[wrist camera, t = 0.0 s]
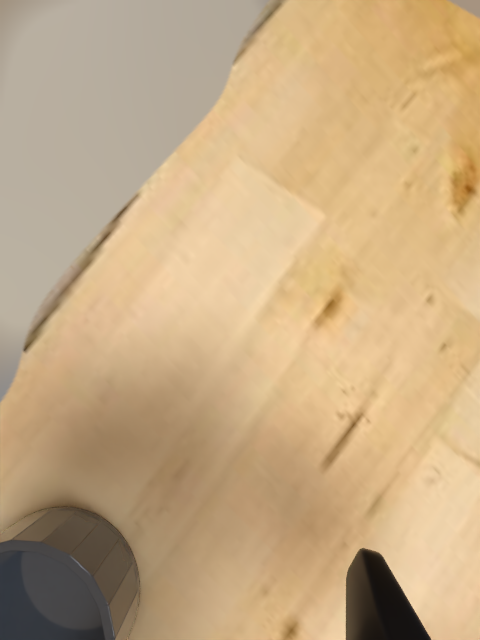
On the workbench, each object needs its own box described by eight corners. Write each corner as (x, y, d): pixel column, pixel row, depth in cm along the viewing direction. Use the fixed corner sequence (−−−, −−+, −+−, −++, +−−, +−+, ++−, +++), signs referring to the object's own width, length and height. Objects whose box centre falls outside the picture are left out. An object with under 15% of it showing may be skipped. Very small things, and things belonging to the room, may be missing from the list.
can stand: (156, 656, 22) (133, 731, 17) (-6, 700, 22) (-72, 787, 17) (121, 488, 23) (91, 518, 18) (-34, 529, 23) (-102, 569, 18)
